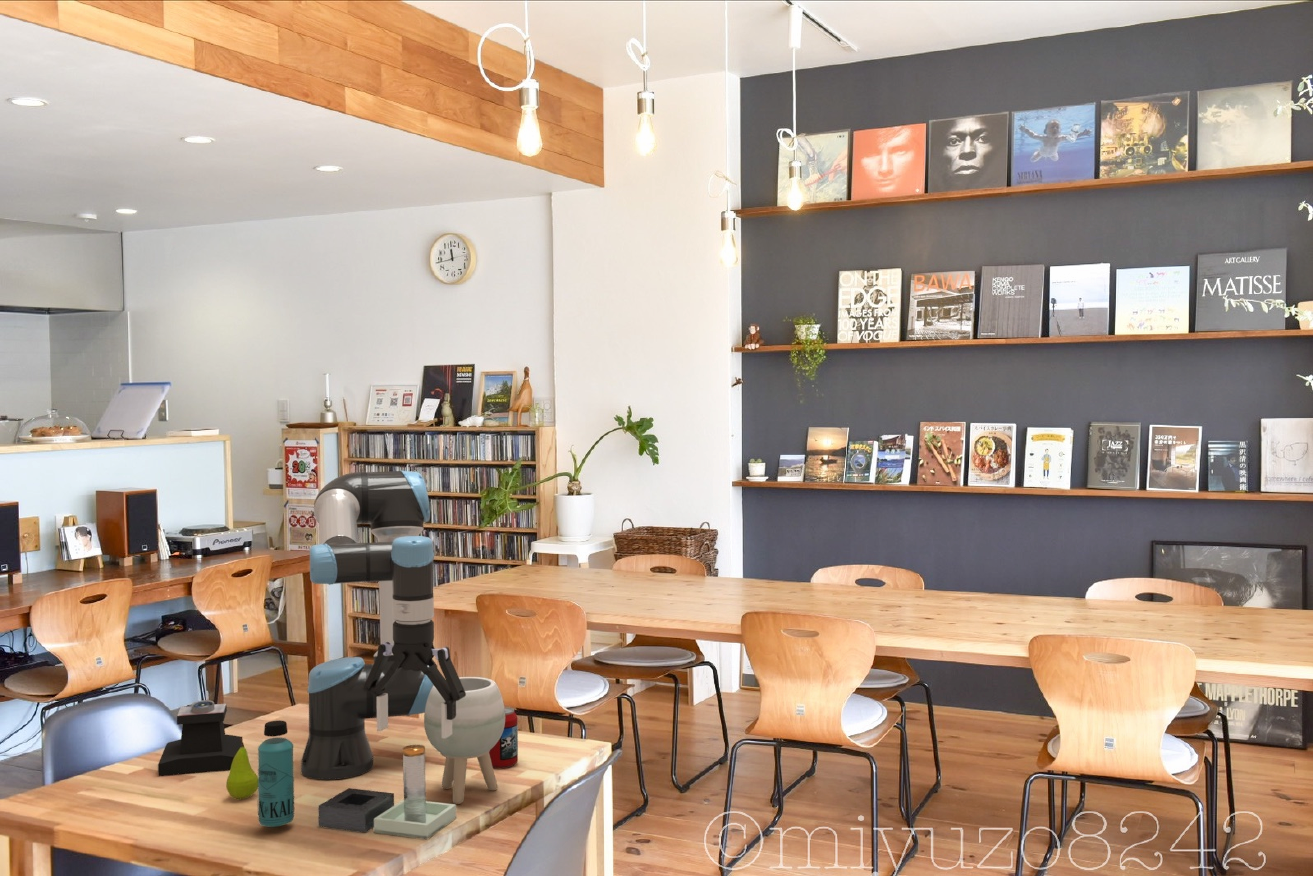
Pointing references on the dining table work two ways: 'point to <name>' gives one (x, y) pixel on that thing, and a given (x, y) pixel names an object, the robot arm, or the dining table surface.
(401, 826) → the tray
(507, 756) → the beverage can
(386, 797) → the collar
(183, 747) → the black pedestal stand
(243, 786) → the fruit
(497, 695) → the planter
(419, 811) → the pin
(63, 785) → the dining table surface
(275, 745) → the beverage bottle
